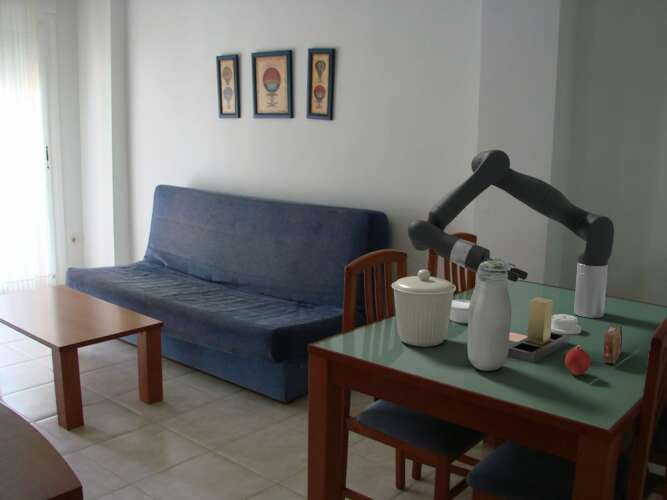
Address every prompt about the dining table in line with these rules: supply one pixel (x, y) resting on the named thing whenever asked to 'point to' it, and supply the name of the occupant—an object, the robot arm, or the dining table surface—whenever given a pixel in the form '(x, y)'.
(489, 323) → the glass bottle
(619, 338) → the tin
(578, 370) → the pomegranate
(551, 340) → the compartment tray
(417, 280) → the canister
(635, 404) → the dining table surface
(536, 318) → the brass block
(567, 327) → the mechanical component
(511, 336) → the tile
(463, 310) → the ramekin
